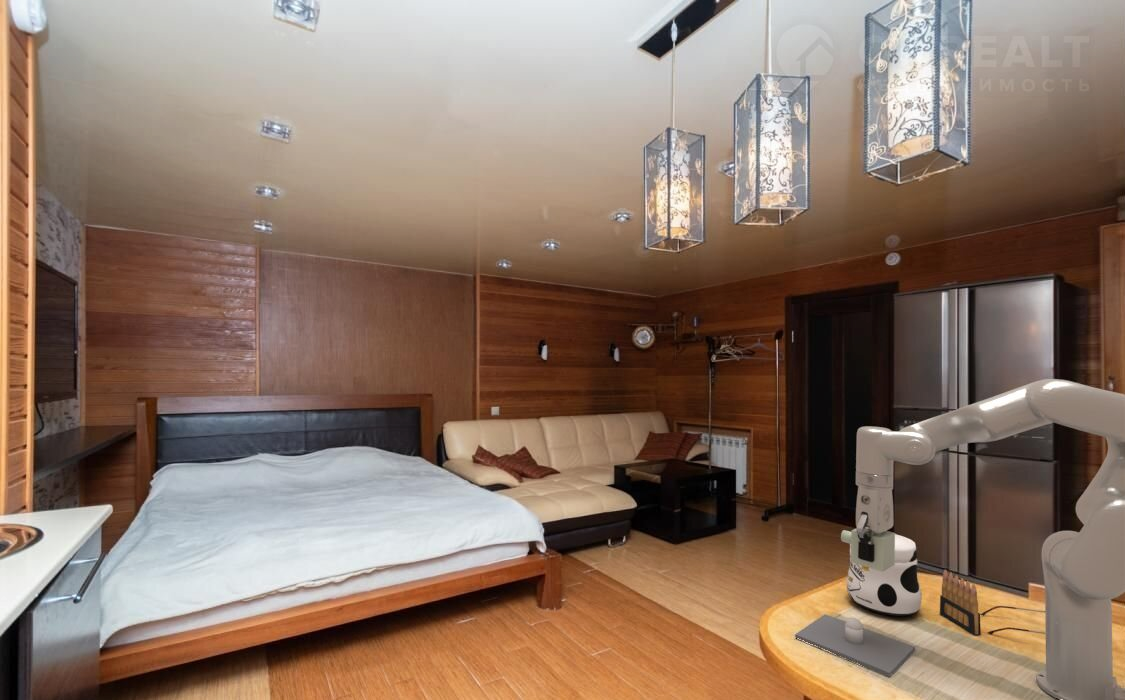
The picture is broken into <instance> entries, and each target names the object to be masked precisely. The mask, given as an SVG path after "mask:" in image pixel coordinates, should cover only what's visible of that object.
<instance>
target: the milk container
mask: <svg viewBox="0 0 1125 700" xmlns="http://www.w3.org/2000/svg"><path fill="white" fill-rule="evenodd" d="M917 558H918V553H917V546H916V542H915V541H913V540H912V539H910V538H908V537H905V536H902V535H899V534H896V533H895V559H894V565H893V566H892V567H890V568H888V569H887V570H885V571H884V572H882V571H878V570H875V569H872V568H869V567H865V566H862V565H859V564H855V563H852V562H851V544H849V568H848V571H847V576H846V580H845V581H846V583H845V584H846V589H847V593H848V596H849V597H850V599H851V600H852V601H853V602H854V603H855V604H857V605H859V606H860V607H862V608H865V609H866V610H869V611H872V612H876V613H878V614H882V615H887V616H888V615H889V616H894V617H895V616H897V617H898V616H900V617H902V616H903V617H904V616H910V615H914V614H916V613H917V612H919V610H920V608H921V604H922V600H923V599H922V598H923V596H922V590H921V587H920V583H919V579H918V559H917Z"/></svg>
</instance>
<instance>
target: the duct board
mask: <svg viewBox="0 0 1125 700" xmlns="http://www.w3.org/2000/svg"><path fill="white" fill-rule="evenodd" d="M795 637H796V638H799V639H801V640H804V641H805V642H808V643H810V644H813V645H816V646H818V647H820V648H823V649H825V650H828V651H830V652H832V653H834V654H836V655H839V656H841V657H843V658H846V659H848V660H850V661H849V662H851V661H853V662H855V663H858V664H860V665H862V666H861V667H863V666H864V667H863V668H865V667H866V669H868V670H871V671H873V672H875V673H877V674H880V675H882V676H885V677H887V678H891V677H892V676H893V675H894V673H896V672H897V670H899V669H900V667H902V666H903V664H904V663H905V662H907V660H908V659H909V658H911V656H913V654H914V653H915V652H916V645H915V646H914V645H912V644H910V643H907V642H904V641H900V640H898V639H895V638H892V637H890V636H887V635H884V634H882V633H879V632H876V631H873V630H870V629H868V628H864V627H863V624H862V622H861V621H860V619H857V618H856V617H849V618H846V620H843V619H840V618H837V617H835V616H832V615H829V614H826V613H825V614H823V615H821V616H819V618H817V619H816V620H814V621H813V622H811V623H809V624H808V625H807V626H805V627H804V628H802V629H801V630H799V631H798V632H796V633H794V638H795ZM805 642H804V643H805ZM810 644H809V645H810ZM834 654H833V655H834ZM836 655H835V656H836ZM839 656H838V657H839ZM841 657H840V658H841ZM843 658H842V659H843ZM846 659H845V660H846ZM848 660H847V661H848ZM853 662H852V663H853ZM855 663H854V664H855ZM858 664H857V665H858ZM860 665H859V666H860Z"/></svg>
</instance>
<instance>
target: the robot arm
mask: <svg viewBox="0 0 1125 700" xmlns="http://www.w3.org/2000/svg"><path fill="white" fill-rule="evenodd" d="M1053 423H1055V424H1058V425H1061V426H1064V427H1068V428H1071V429H1075V430H1078V431H1080V432H1081V431H1082V432H1084V433H1089V434H1092V435H1096V436H1101V437H1104V438H1105V440H1106V442H1107V452H1106V457H1105V458H1104V460H1103V462H1102V464H1101V466H1100V468H1099V469H1098V471H1097V473H1096V474H1095V476H1094V477H1093V478H1092V480H1091V481H1090V483H1089V485H1088V486H1087V487H1086V489H1085V490H1084V492H1083V493H1082V494H1081V496H1080V497H1079V498H1078V500H1077V502H1076V504H1075V514H1076V516H1077V518H1078V519H1079V521H1080V522H1081V523H1082V524H1083V526H1082V528H1081V529H1080V531H1079V532H1078V531H1074V530H1061V531H1057V532H1054V533H1052V534H1050V535H1049V536H1048V537H1047V538H1046V539H1045V540H1044V542H1043V544H1042V548H1041V562H1042V563H1041V564H1042V565H1041V566H1042V572H1043V580H1044V604H1045V607H1044V608H1045V609H1044V611H1045V612H1044V615H1045V617H1044V620H1045V632H1046V634H1045V670H1040V671H1038V672H1037V673H1035V682H1036V685H1038V687H1040V689H1041V690H1042V691H1044V692H1045V693H1046V694H1048V695H1050V696H1051V697H1053V698H1055V699H1056V698H1058V699H1063V700H1125V688H1124V687H1122V685H1119V684H1117V682H1118V681H1117V677H1116V676H1114V675H1113V674H1114V673H1113V672H1114V669H1113V665H1114V664H1113V662H1114V661H1113V659H1114V658H1113V608H1112V600H1113V599H1116V598H1117V597H1120V596H1122V595H1123V594H1124V593H1125V394H1124V393H1120V392H1115V391H1110V390H1105V389H1102V388H1097V387H1093V386H1089V385H1086V384H1083V383H1082V384H1081V383H1080V382H1074V381H1070V380H1066V379H1057V378H1046V379H1045V378H1044V379H1040V380H1037V381H1033V382H1031V383H1027V384H1025V385H1022V386H1019V387H1016V388H1013V389H1011V390H1008V391H1005V392H1003V393H1000V394H997V395H994V396H991V397H988V398H986V399H982V400H980V401H977V402H974V403H972V404H968V405H965V406H961V407H959V408H957V409H955V410H951V411H949V412H946V413H942V414H939V415H937V416H933V417H931V418H928V419H925V420H922V421H920V422H919V421H918V422H917V423H914V424H910V425H908V426H905V427H903V428H901V429H900V430H899V431H894V430H891V429H890V428H887V427H882V426H881V427H880V426H867V425H866V426H861V427H859V428H858V429H857V432H856V454H855V456H856V457H855V460H856V461H855V462H856V463H855V469H856V470H855V485H856V486H857V495H856V505H855V506H856V507H855V526H856V528H855V529H856V531H857V534H858V558H859V559H862V560H865V561H869V562H874V544H873V539H874V534H875V533H877V534H879V533H882V532H884V531H888V530H890V529H892V528H893V526H894V523H895V522H894V500H893V490H894V461H896V462H901V463H905V464H909V465H915V466H919V465H924V464H925V465H926V464H927V463H929V462H930V461H932V460H933V459H934V457H935V454H936V453H937V452H939V451H943V450H945V449H948V448H949V449H950V448H952V447H955V446H959V445H965V444H970V443H988V442H994V441H995V442H996V441H998V440H1003V439H1006V438H1009V437H1011V436H1014V435H1018V434H1019V433H1023V432H1027V431H1030V430H1032V429H1036V428H1039V427H1044V426H1046V425H1048V424H1053ZM866 527H869V528H871V530H869V529H865V528H866ZM865 532H867V533H870V535H869V537H868V535H867V534H866V533H865ZM1058 699H1057V700H1058Z"/></svg>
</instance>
